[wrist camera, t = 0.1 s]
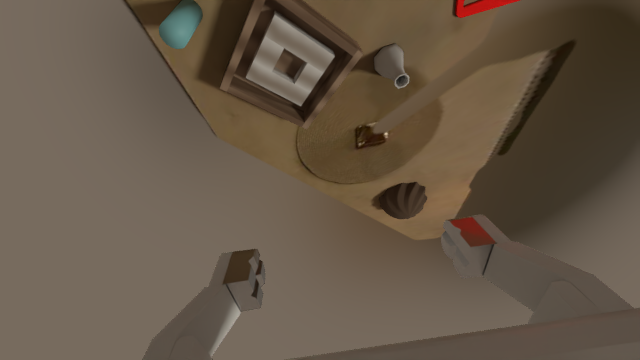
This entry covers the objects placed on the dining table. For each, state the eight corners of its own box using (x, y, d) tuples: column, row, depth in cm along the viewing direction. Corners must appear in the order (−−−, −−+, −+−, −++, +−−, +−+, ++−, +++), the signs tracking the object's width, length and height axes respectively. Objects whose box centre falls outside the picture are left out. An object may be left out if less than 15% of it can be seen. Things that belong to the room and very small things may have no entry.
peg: (181, -7, 44) (161, 15, 36) (205, 7, 46) (190, 31, 38) (177, 15, 46) (156, 39, 39) (199, 27, 48) (184, 53, 41)
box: (264, -30, 43) (263, -22, 39) (357, 42, 54) (363, 53, 50) (223, 75, 56) (219, 88, 52) (305, 115, 67) (306, 129, 63)
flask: (380, 80, 61) (391, 102, 55) (368, 56, 56) (379, 77, 50) (407, 63, 59) (423, 84, 52) (397, 36, 54) (413, 56, 47)
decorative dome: (379, 212, 112) (386, 232, 105) (378, 187, 96) (385, 208, 90) (422, 203, 110) (431, 223, 103) (427, 176, 95) (438, 197, 88)
